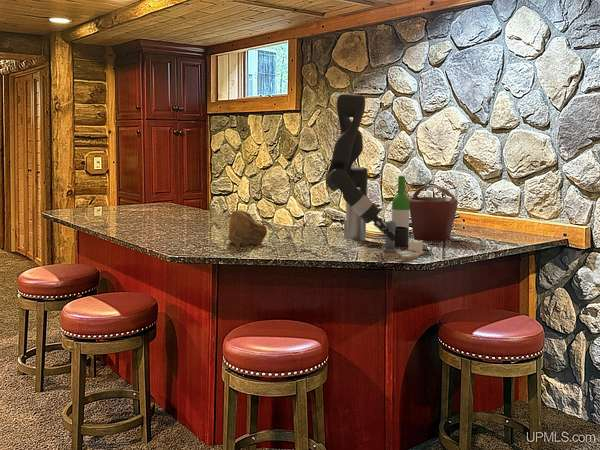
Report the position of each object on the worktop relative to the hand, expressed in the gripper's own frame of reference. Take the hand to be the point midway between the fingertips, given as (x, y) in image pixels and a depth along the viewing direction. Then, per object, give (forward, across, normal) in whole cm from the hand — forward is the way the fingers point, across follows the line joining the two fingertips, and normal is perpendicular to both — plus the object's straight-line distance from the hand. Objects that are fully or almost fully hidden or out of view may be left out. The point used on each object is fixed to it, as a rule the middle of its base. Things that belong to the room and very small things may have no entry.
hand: (393, 238), depth 260 cm
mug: (+7, +18, +3) cm, 20 cm away
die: (+12, +8, -2) cm, 14 cm away
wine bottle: (+9, +31, +1) cm, 32 cm away
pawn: (+3, 0, +5) cm, 6 cm away
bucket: (+20, +48, -10) cm, 53 cm away
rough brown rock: (-38, +23, +48) cm, 66 cm away
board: (+2, +2, +8) cm, 8 cm away
